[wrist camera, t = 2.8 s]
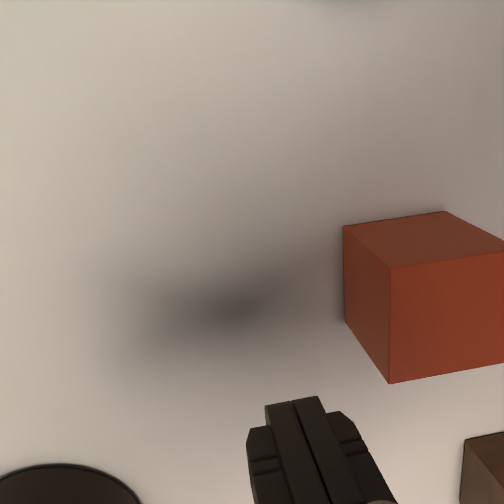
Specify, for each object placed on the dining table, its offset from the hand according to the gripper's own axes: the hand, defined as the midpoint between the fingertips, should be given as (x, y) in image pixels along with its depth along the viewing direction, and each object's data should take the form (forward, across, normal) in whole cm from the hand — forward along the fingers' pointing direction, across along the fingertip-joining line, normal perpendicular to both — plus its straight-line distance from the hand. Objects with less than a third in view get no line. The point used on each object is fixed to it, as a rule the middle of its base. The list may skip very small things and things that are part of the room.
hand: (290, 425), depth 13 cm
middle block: (+9, -7, 0) cm, 12 cm away
